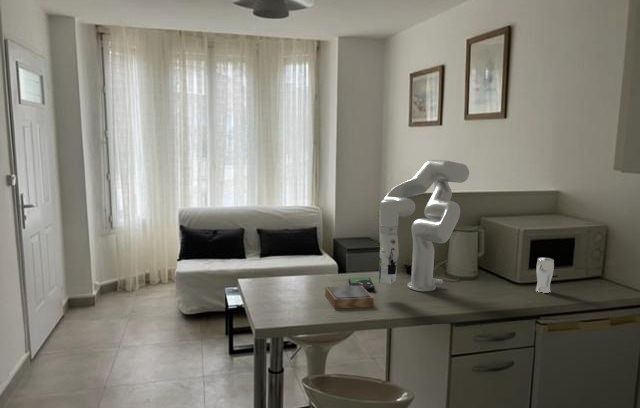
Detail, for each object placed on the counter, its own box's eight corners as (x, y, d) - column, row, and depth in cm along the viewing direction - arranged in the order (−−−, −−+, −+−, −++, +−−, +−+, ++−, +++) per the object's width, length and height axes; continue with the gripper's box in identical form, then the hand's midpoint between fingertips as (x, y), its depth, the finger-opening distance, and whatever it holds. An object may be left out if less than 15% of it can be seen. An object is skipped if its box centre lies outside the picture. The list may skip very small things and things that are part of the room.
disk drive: (374, 293, 206) (369, 283, 221) (375, 287, 206) (370, 277, 220) (351, 293, 206) (347, 282, 220) (351, 287, 205) (348, 276, 220)
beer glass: (536, 293, 210) (539, 260, 208) (533, 288, 217) (535, 256, 215) (553, 294, 208) (556, 261, 207) (549, 290, 215) (552, 257, 213)
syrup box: (384, 279, 201) (384, 245, 198) (397, 281, 198) (397, 247, 195) (378, 282, 196) (379, 248, 193) (391, 285, 193) (392, 250, 190)
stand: (361, 293, 203) (361, 284, 202) (373, 306, 187) (373, 296, 187) (325, 295, 199) (325, 286, 199) (334, 308, 184) (334, 298, 183)
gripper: (405, 233, 186) (404, 276, 188) (390, 225, 202) (389, 264, 205) (387, 234, 184) (386, 278, 187) (373, 226, 201) (372, 265, 203)
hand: (388, 270), depth 196 cm, fingers closed on syrup box, 7 cm apart
